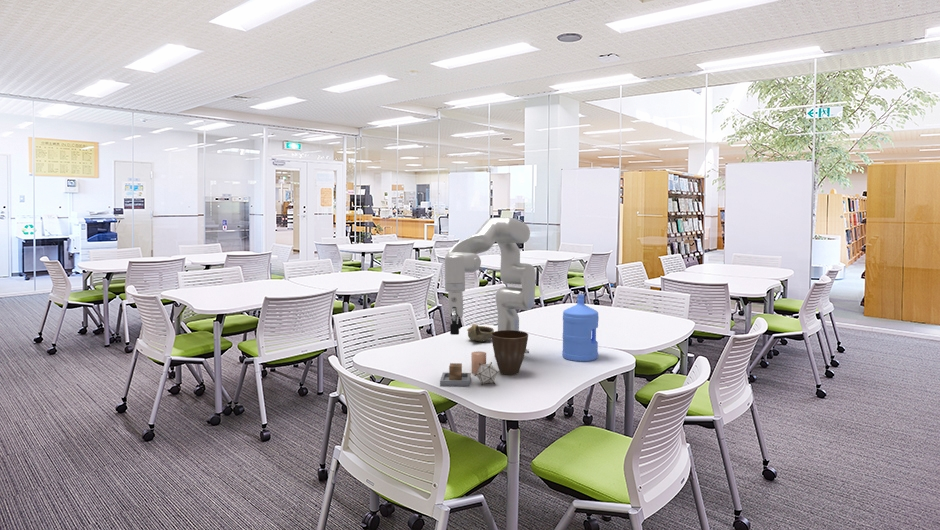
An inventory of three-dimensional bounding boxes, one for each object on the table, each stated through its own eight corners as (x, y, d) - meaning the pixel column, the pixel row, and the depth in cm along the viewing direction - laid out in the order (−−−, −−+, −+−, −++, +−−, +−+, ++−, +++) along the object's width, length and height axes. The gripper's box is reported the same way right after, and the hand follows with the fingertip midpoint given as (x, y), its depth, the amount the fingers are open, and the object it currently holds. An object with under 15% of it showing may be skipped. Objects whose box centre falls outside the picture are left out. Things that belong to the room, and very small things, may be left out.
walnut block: (461, 378, 218) (461, 363, 218) (461, 382, 214) (461, 366, 213) (450, 378, 218) (450, 363, 218) (449, 381, 214) (449, 366, 213)
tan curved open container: (498, 339, 288) (498, 320, 287) (484, 346, 273) (484, 326, 272) (474, 336, 294) (474, 318, 293) (459, 343, 278) (459, 324, 277)
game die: (490, 394, 212) (496, 378, 206) (469, 385, 214) (475, 369, 207) (498, 377, 219) (503, 361, 213) (477, 368, 220) (483, 352, 214)
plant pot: (530, 368, 234) (530, 330, 232) (525, 379, 219) (525, 338, 218) (494, 366, 237) (494, 329, 235) (488, 376, 222) (487, 337, 221)
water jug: (569, 362, 242) (569, 298, 240) (557, 353, 258) (558, 293, 255) (603, 361, 245) (604, 297, 242) (590, 352, 260) (591, 292, 258)
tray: (470, 377, 221) (470, 372, 221) (469, 386, 210) (469, 381, 210) (442, 377, 222) (442, 372, 222) (440, 386, 211) (440, 380, 211)
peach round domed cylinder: (486, 370, 231) (486, 351, 231) (486, 374, 225) (486, 355, 225) (471, 370, 232) (471, 351, 231) (471, 374, 226) (471, 355, 225)
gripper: (463, 290, 204) (464, 336, 206) (466, 283, 221) (466, 326, 223) (443, 290, 204) (443, 336, 206) (447, 284, 221) (447, 326, 223)
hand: (455, 331), depth 214 cm, fingers open, 9 cm apart
